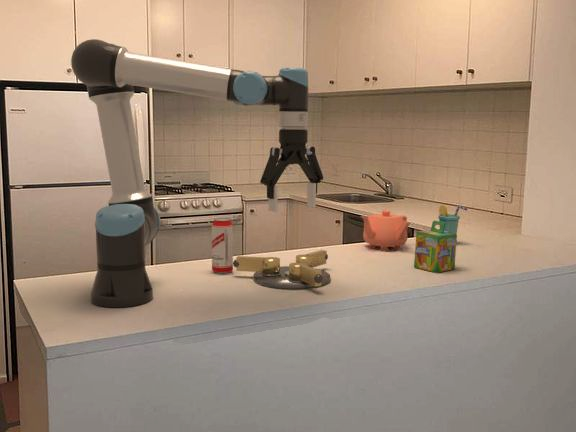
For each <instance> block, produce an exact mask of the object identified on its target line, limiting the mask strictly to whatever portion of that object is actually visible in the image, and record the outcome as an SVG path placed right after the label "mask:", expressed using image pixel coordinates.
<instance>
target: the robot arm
mask: <svg viewBox="0 0 576 432" xmlns="http://www.w3.org/2000/svg"><path fill="white" fill-rule="evenodd" d="M70 64H71V69H72V72H73V75H74V76H75V77H76V78H77V80H78V81H79V82H81V83H82V84H84V85H85V86H86V89H87V95H88V99H89V100H90V101H92V103H94V104H95V106H96V110H97V115H98V121H99V126H100V132H101V138H102V144H103V148H104V154H105V155H104V156H105V158H106V159H105V160H106V165H107V171H108V176H109V182H110V186H111V193H112V194H111V197H110V198H109V200H108V202H107V203H108V205H107V206H103V207H101V208H100V209H98V210H97V212H96V213H95V222H94V228H95V240H96V241H95V242H96V244H95V245H96V262H97V263H96V265H97V266H96V267H97V268H96V269H97V272H96V274H95V276H94V277H95V278H94V281H93V286H92V288H91V292H90V301H91V303H92V304H94V305H96V306H99V307H104V308H105V307H106V308H127V307H135V306H139V305H144V304H147V303H149V302H151V301H152V300H153V298H154V291H153V286H152V283H151V281H150V277H149V275H148V272H147V269H146V246H147V245H149V244H150V243H152V242H153V241H154V240H155V238H156V237H157V236H158V234H159V231H160V228H161V216H160V214H159V212H158V210H157V208H155V205H154V201H153V195H152V193H150V192H149V191H147V190H146V187H145V182H144V181H145V180H144V176H143V170H142V164H141V159H140V152H139V148H138V147H139V146H138V141H137V136H136V130H135V124H134V123H135V122H134V119H133V118H134V117H133V113H132V106H131V102H130V101H131V98H132V97H133V96H134V94H135V90H134V86H136V87H143V88H148V89H153V90H155V89H156V90H161V91H167V92H173V93H179V94H187V95H191V96H197V97H198V96H199V97H205V98H209V99H217V100H222V101H230V102H233V103H234V104H235V105H236V106H237V105H239V106H246V107H247V106H279V107H278V127H279V128H281V129H279V131H278V142H279V144H280V147H272V146H271V148H270V149H269V157H268V160H267V162H266V164H265V165H266V166H265V167H264V170H263V173H262V175H261V178H260V184H262V185H264V186H265V187H266V197H267V198H266V199H268V211H269V212H275V213H277V212H278V211H279V209H278V204H279V203H278V197H279V195H278V194H279V193H278V192H279V191H278V190H279V189H278V187H279V186H276V184H277V183H278V182H279V180H280V179H281V176H282V175H283V173H284V172H285V170H286V168H287V167H289V165H298V166H299V167H300V169H301V170H302V172H303V173H304V175H305V177H306V178H307V180H308V181H309V182H307V183H306V207H309V208H316V206H317V205H316V202H317V201H316V200H317V199H316V198H317V196H316V195H317V194H318V184H320V183H321V181H323V180H324V175H323V172H322V169H321V166H320V163H319V161H318V158H317V156H316V155H317V154H316V148H315V146H309V145H307V144H308V132H309V131H308V130H307V129H306V128H307V127H308V126H309V125H308V123H309V119H308V118H309V114H308V111H309V110H308V109H309V73H308V71H307V69H306V68H303V67H282V68H281V67H280V69H279V71H278V75H262V74H260V73H259V72H257V71H252V70H239V69H233V68H228V67H222V66H218V65H217V66H215V65H209V64H202V63H198V62H192V61H186V60H185V61H184V60H179V59H173V58H168V57H160V56H154V55H149V54H142V53H136V52H131V51H129V50H128V49H127V47H125V46H120V45H116V44H113V43H109V42H107V41H105V40H101V39H94V38H93V39H87V40H84V41H82V42H80V43H79V44H78V45H77V46H76V47H75V49H74V50H73V51H72V55H71V59H70ZM306 145H307V146H306Z"/></svg>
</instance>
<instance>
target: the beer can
mask: <svg viewBox="0 0 576 432" xmlns="http://www.w3.org/2000/svg"><path fill="white" fill-rule="evenodd" d="M233 234H234V227H233V222H232V219H231V218H228V217H216V218H213V222H212V223H211V270H212V272H214V274H216V273H217V274H216V275H226V274H227V273H228V274H230V273H232V271H233V270H234V266H233V262H234V246H233V245H234V242H233V241H234V239H233V238H234V235H233ZM228 274H227V275H228Z"/></svg>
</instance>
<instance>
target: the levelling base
mask: <svg viewBox="0 0 576 432" xmlns="http://www.w3.org/2000/svg"><path fill="white" fill-rule="evenodd" d="M316 269H317V270H320V271H322V276H323V281H322V282H321V286H316V287H315V286H313V285H311V284H308V283H306V282H303V281H293V280H290V279H289V266H288V265H286V266H285V265H284V266H280V273H279V274H274V275H268V274H264V273H262V272H253V282H254V283H256V284H257V285H259V286H262V287H267V288H271V289H276V290H290V291H292V290H297V291H298V290H311V289H315V288H320V287H323V286H326V285H328V284H330V282H331V274H330V273H329V272H328V271H325V270H323V269H320V268H316Z"/></svg>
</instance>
